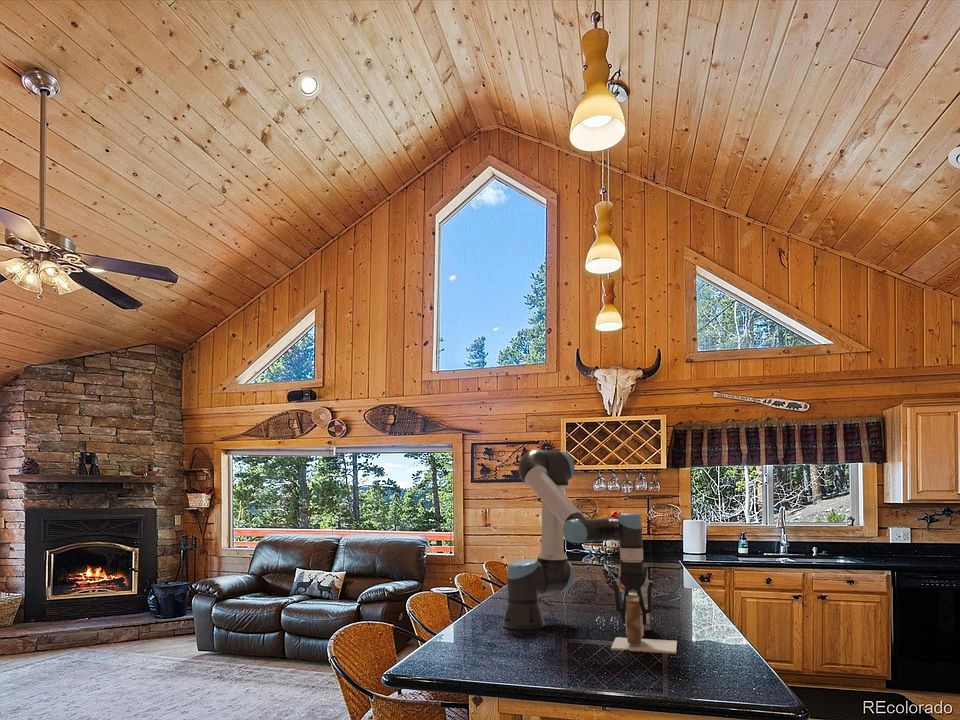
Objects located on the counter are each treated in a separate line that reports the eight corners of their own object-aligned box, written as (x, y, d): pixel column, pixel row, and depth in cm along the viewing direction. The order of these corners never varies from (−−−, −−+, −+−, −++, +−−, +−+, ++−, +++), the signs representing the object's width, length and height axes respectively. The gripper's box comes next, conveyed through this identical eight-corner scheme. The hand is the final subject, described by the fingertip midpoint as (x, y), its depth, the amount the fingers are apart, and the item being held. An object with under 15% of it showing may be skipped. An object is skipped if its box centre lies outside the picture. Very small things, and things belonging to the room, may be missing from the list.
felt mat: (611, 649, 223) (611, 647, 223) (615, 639, 237) (615, 637, 237) (676, 653, 217) (676, 651, 217) (677, 642, 231) (676, 640, 232)
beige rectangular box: (627, 643, 224) (625, 597, 226) (630, 636, 233) (628, 592, 236) (640, 643, 223) (638, 598, 225) (642, 636, 232) (640, 593, 235)
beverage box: (632, 631, 249) (630, 567, 253) (620, 624, 260) (618, 563, 263) (650, 630, 250) (647, 566, 254) (637, 623, 261) (635, 563, 265)
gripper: (604, 561, 231) (607, 635, 227) (657, 562, 226) (661, 638, 223) (607, 558, 238) (609, 630, 234) (658, 560, 234) (662, 633, 230)
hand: (634, 634), depth 229 cm, fingers closed on beige rectangular box, 4 cm apart
